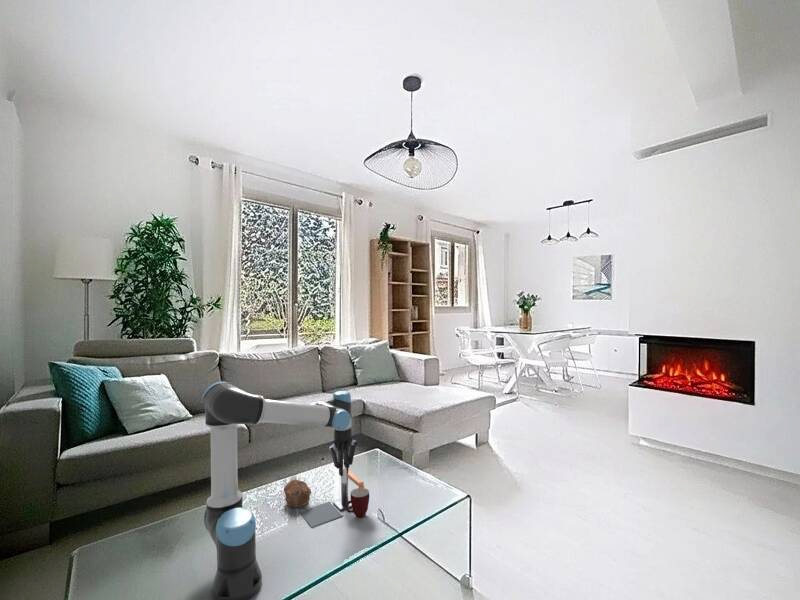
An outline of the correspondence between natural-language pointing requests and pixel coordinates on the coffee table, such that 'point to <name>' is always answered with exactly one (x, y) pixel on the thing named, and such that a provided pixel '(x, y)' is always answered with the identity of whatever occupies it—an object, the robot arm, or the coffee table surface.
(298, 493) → the decorative rock
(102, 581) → the coffee table surface
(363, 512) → the mug
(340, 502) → the clip post
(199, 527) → the coffee table surface
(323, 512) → the mat
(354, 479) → the ball-ended drumstick
